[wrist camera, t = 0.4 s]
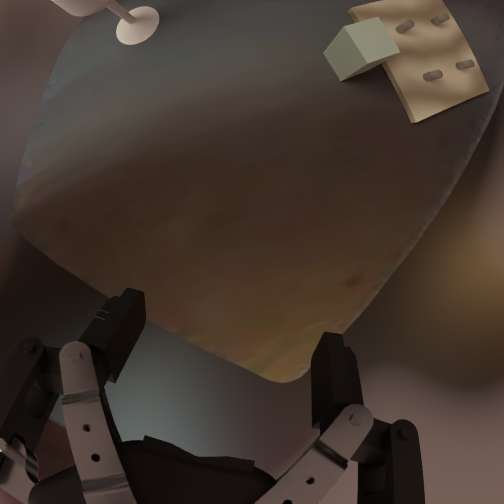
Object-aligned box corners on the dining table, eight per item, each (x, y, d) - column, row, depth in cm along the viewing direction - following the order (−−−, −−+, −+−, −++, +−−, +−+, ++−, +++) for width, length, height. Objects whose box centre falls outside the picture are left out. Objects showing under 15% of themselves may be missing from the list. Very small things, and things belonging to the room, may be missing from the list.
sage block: (340, 81, 31) (367, 63, 21) (322, 53, 29) (343, 26, 20) (367, 70, 30) (400, 52, 20) (350, 42, 28) (378, 16, 19)
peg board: (347, 12, 26) (358, -2, 22) (432, -5, 23) (447, -15, 18) (411, 122, 32) (429, 122, 27) (483, 91, 28) (503, 89, 24)
